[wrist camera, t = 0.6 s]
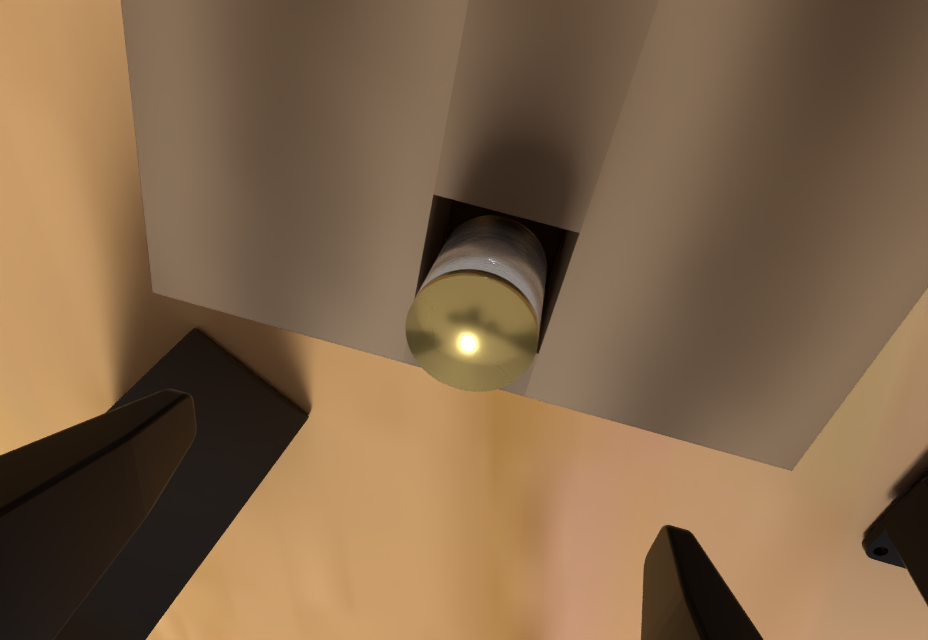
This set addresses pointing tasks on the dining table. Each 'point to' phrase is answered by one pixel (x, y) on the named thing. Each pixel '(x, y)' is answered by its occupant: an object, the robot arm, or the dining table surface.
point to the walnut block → (558, 185)
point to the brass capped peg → (480, 306)
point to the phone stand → (189, 487)
